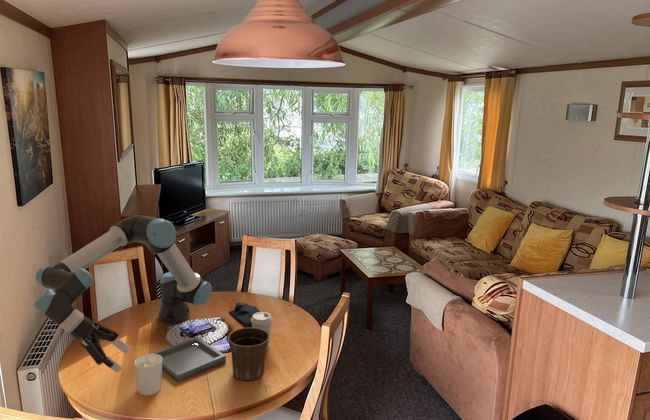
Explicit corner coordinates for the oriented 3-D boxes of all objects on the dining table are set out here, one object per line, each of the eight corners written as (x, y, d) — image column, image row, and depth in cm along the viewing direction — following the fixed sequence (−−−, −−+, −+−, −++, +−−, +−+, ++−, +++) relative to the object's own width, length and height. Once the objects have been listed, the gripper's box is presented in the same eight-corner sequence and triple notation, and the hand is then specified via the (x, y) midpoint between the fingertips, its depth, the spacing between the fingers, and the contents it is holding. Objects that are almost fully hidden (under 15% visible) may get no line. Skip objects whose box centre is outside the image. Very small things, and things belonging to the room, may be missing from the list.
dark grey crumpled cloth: (241, 329, 231) (241, 320, 230) (227, 312, 250) (227, 303, 249) (271, 323, 238) (271, 314, 237) (255, 306, 257) (255, 298, 256)
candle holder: (140, 381, 185) (138, 353, 182) (166, 381, 186) (165, 353, 183) (132, 397, 175) (130, 367, 173) (159, 396, 176) (158, 367, 173)
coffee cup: (268, 353, 209) (268, 321, 206) (247, 350, 211) (247, 319, 208) (274, 343, 218) (275, 312, 215) (254, 340, 220) (255, 310, 217)
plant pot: (244, 358, 204) (244, 323, 201) (276, 368, 198) (277, 332, 194) (219, 377, 190) (219, 339, 187) (253, 388, 183) (254, 350, 180)
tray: (150, 360, 200) (150, 353, 200) (197, 342, 216) (197, 336, 215) (178, 382, 186) (177, 375, 185) (225, 361, 201) (225, 355, 200)
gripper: (80, 316, 181) (124, 350, 187) (57, 349, 157) (108, 386, 164) (94, 302, 181) (137, 337, 187) (73, 333, 157) (124, 371, 164)
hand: (124, 360), depth 176 cm, fingers open, 13 cm apart
